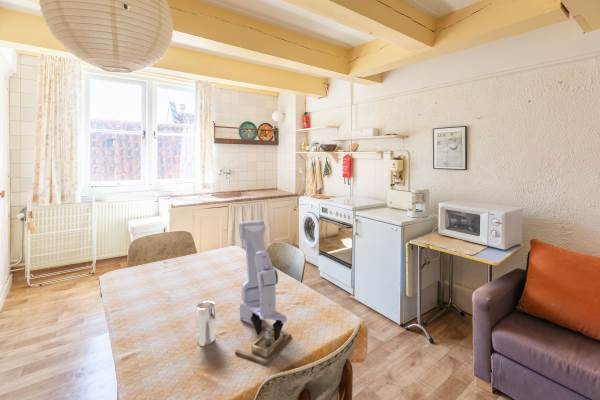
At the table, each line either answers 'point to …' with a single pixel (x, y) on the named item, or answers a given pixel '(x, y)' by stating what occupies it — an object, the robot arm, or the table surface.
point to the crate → (266, 343)
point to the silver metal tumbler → (206, 322)
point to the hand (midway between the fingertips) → (268, 336)
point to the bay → (270, 357)
